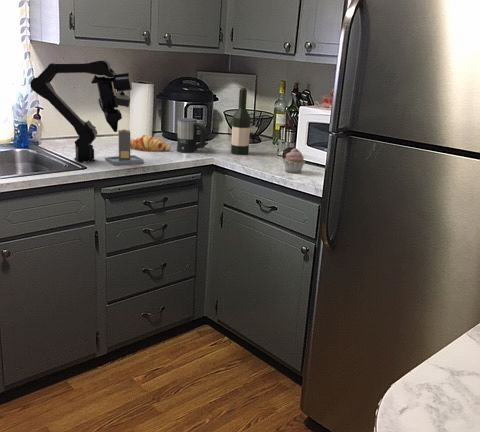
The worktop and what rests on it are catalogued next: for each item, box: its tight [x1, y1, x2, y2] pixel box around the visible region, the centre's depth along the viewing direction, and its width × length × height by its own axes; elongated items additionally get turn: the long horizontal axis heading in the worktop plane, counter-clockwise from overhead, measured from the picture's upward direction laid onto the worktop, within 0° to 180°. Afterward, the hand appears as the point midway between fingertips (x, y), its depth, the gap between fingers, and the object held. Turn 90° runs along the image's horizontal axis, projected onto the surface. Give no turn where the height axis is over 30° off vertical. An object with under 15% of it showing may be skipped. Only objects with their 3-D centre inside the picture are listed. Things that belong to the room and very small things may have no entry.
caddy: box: [117, 129, 131, 161], centre depth 231 cm, size 4×5×13 cm
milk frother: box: [176, 117, 209, 154], centre depth 263 cm, size 14×16×15 cm
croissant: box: [130, 134, 172, 152], centre depth 260 cm, size 21×10×8 cm, turn 84°
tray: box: [104, 154, 145, 166], centre depth 233 cm, size 13×9×2 cm
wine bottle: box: [230, 87, 252, 156], centre depth 260 cm, size 8×8×30 cm
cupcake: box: [282, 147, 306, 174], centre depth 233 cm, size 9×9×10 cm
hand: (113, 127), depth 234 cm, fingers open, 9 cm apart
